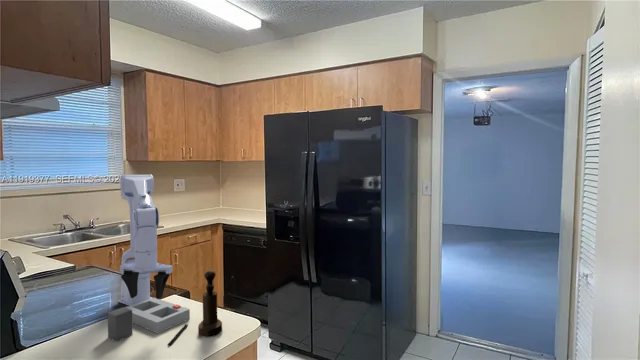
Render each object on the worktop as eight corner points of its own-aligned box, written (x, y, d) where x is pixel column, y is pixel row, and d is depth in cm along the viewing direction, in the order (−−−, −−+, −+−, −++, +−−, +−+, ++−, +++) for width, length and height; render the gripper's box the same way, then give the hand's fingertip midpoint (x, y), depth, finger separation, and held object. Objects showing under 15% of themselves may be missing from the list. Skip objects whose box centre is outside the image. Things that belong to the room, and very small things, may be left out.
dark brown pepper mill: (197, 328, 104) (197, 267, 103) (220, 325, 106) (220, 265, 105) (199, 339, 97) (198, 274, 97) (223, 334, 100) (223, 271, 99)
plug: (108, 337, 98) (107, 312, 98) (124, 331, 102) (123, 307, 101) (116, 341, 96) (115, 315, 96) (132, 334, 100) (132, 310, 99)
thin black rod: (185, 326, 106) (185, 322, 106) (188, 326, 106) (188, 322, 106) (167, 347, 94) (167, 343, 94) (171, 347, 94) (171, 343, 94)
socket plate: (121, 318, 110) (121, 307, 110) (153, 306, 119) (153, 295, 119) (157, 332, 101) (157, 320, 101) (189, 318, 110) (189, 307, 110)
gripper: (112, 252, 98) (113, 301, 98) (163, 254, 97) (164, 303, 97) (128, 247, 105) (128, 292, 105) (175, 248, 104) (176, 294, 104)
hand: (146, 297), depth 102 cm, fingers open, 7 cm apart
